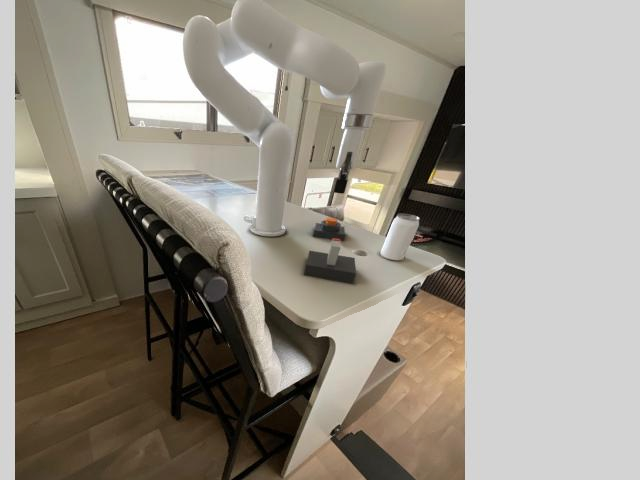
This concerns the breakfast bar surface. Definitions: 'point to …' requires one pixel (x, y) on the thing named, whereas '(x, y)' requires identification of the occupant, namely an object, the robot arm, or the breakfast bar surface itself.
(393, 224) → the can
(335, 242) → the timer knob
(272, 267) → the breakfast bar surface
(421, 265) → the breakfast bar surface
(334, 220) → the button
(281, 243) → the breakfast bar surface
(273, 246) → the breakfast bar surface
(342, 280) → the panel
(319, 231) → the button block
